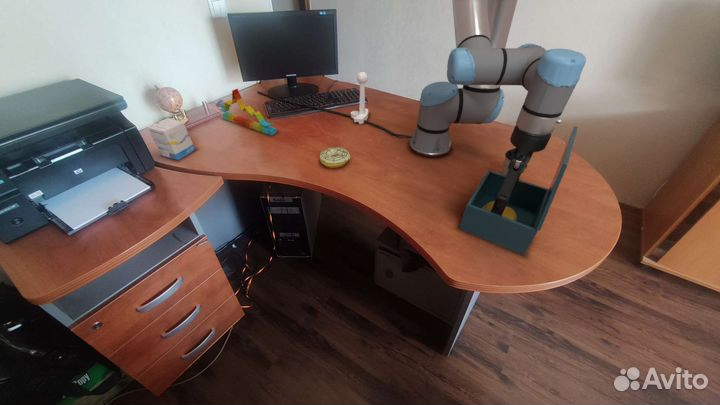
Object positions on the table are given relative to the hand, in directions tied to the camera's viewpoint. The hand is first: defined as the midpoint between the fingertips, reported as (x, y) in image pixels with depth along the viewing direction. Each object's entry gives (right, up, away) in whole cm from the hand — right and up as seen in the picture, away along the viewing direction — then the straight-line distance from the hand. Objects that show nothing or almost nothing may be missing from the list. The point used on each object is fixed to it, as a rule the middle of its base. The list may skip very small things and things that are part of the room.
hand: (502, 200), depth 79 cm
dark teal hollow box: (+1, -6, +4) cm, 7 cm away
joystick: (-39, +37, +54) cm, 76 cm away
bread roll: (0, -5, +4) cm, 6 cm away
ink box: (-107, +18, +32) cm, 113 cm away
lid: (+7, +5, -11) cm, 14 cm away
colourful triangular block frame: (-87, +33, +49) cm, 105 cm away
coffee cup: (+11, +7, +19) cm, 23 cm away
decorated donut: (-47, +14, +27) cm, 56 cm away
